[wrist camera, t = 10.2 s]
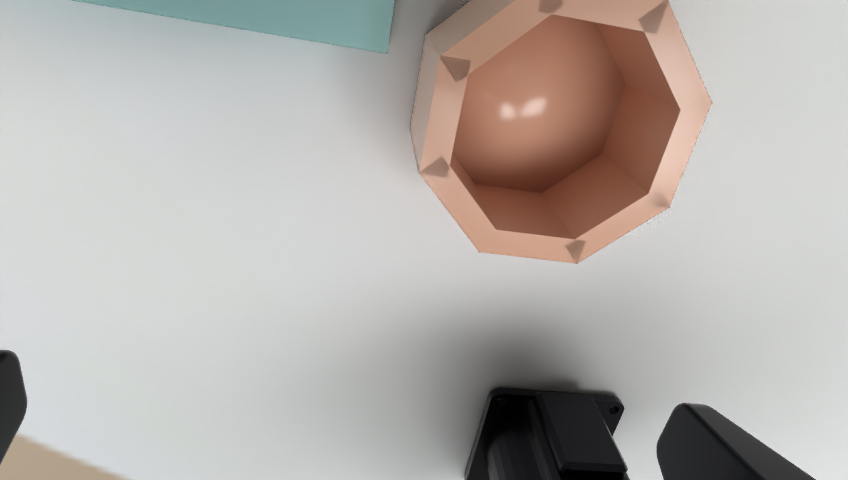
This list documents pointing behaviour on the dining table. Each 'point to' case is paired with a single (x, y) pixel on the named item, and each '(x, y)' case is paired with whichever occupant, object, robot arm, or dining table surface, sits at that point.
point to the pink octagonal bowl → (556, 121)
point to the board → (283, 17)
